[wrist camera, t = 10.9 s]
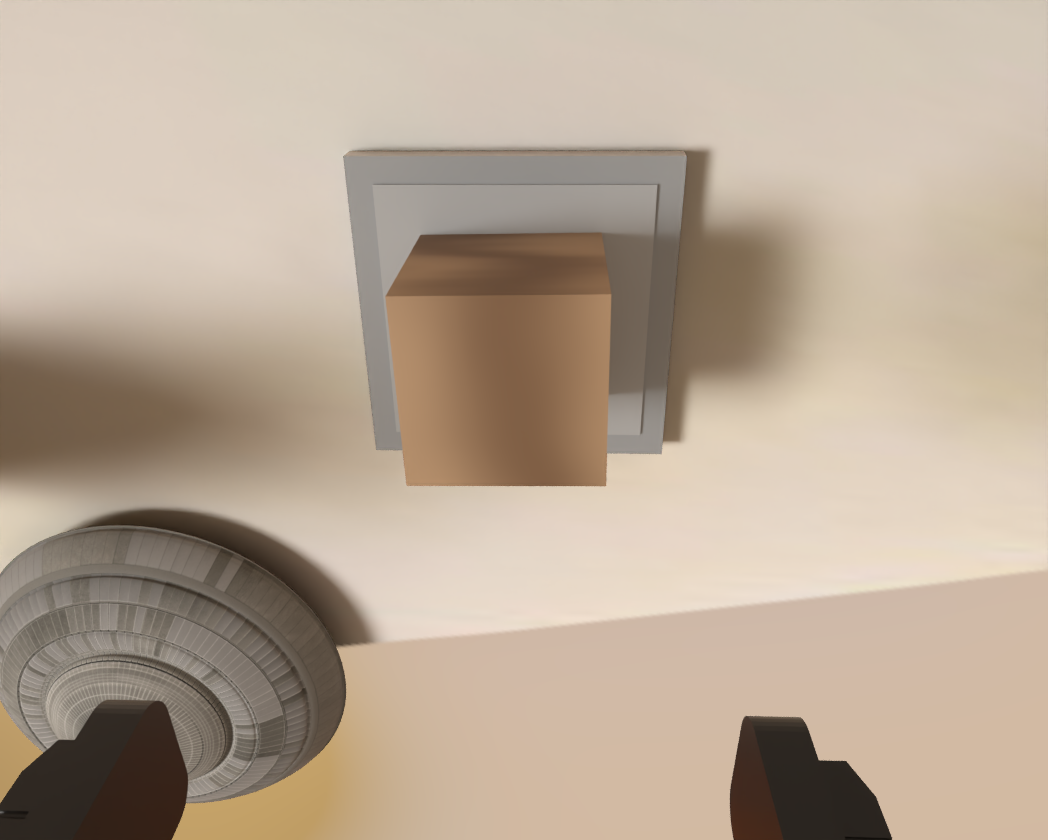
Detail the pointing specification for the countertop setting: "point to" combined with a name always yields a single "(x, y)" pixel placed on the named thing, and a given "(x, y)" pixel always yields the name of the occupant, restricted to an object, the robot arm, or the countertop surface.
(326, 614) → the countertop surface
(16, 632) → the flying saucer
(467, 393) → the walnut cube
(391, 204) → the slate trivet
